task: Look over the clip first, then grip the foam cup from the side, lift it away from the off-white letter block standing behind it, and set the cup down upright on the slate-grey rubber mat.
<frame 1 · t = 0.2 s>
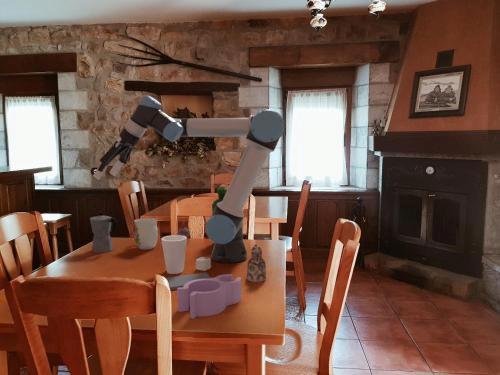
hand: (104, 176, 161), 36 cm above the table, tool tilted 35°, fingers open, 13 cm apart
clip: (211, 306, 123), on the table
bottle: (223, 243, 197), on the table
pitcher: (146, 247, 190), on the table
foam cup: (175, 271, 155), on the table
figurine: (256, 278, 147), on the table
vegetable: (183, 241, 201), on the table
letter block: (203, 268, 158), on the table
slate mat: (188, 282, 143), on the table
coffeepot: (104, 251, 184), on the table
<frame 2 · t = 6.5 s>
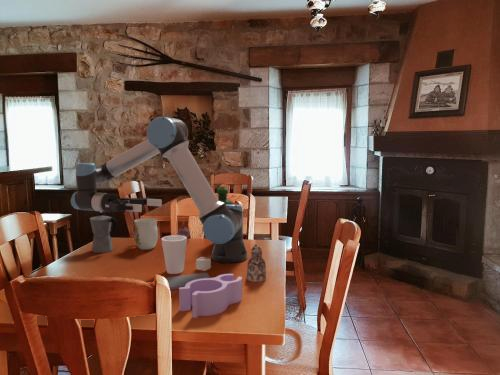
hand: (151, 205, 155), 25 cm above the table, tool horizontal, fingers open, 13 cm apart
nothing on the table moved.
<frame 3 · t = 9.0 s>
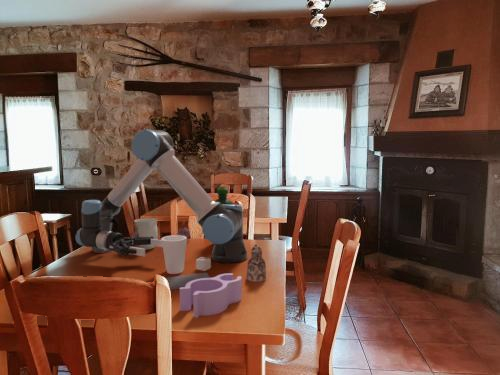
hand: (155, 248, 157), 8 cm above the table, tool horizontal, fingers open, 13 cm apart
coffeepot: (104, 250, 184), on the table, touching arm
everything else where it was.
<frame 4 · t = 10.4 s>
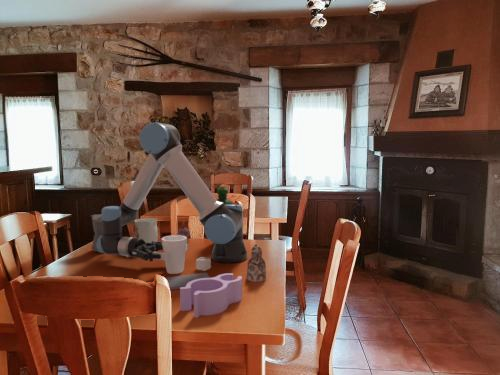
hand: (179, 252, 153), 8 cm above the table, tool horizontal, fingers open, 13 cm apart
coffeepot: (104, 249, 184), point 1 cm above the table
everything else where it was.
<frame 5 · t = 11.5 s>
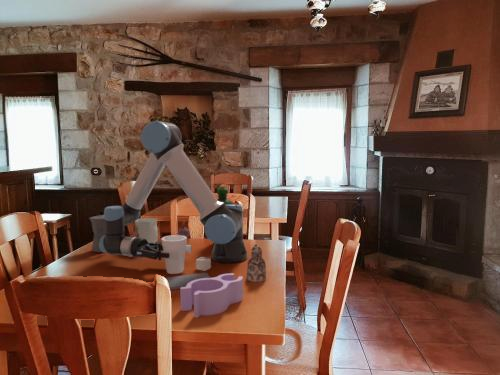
hand: (184, 252, 153), 8 cm above the table, tool horizontal, fingers closed on foam cup, 9 cm apart
foam cup: (175, 271, 155), on the table, touching gripper
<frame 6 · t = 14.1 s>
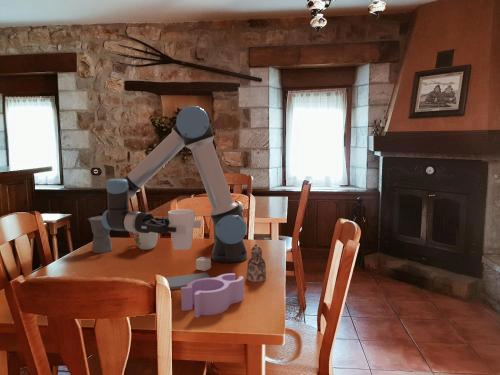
hand: (193, 227, 141), 20 cm above the table, tool horizontal, fingers closed on foam cup, 9 cm apart
foam cup: (182, 248, 143), point 12 cm above the table, touching gripper
when the fingers open (10 cm above the table, at t = 16.7 s): foam cup drops 1 cm, resting on slate mat.
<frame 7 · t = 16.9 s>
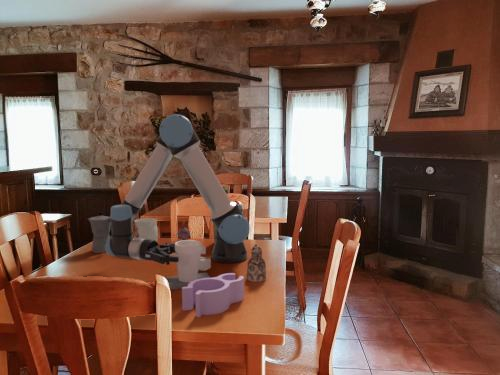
hand: (196, 255, 140), 10 cm above the table, tool horizontal, fingers open, 12 cm apart
foam cup: (187, 279, 143), point 1 cm above the table, touching slate mat
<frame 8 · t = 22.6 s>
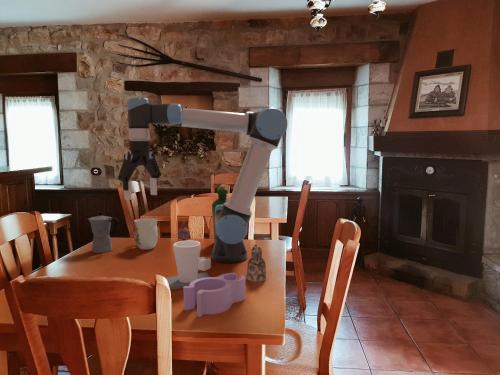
hand: (141, 197, 152), 29 cm above the table, tool pointing down, fingers open, 13 cm apart
at the end: foam cup inside the target area on the slate mat (0.1 cm from its centre), point 0.8 cm above the slate mat's base; foam cup tilted 0°; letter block moved 0.1 cm from its start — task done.
